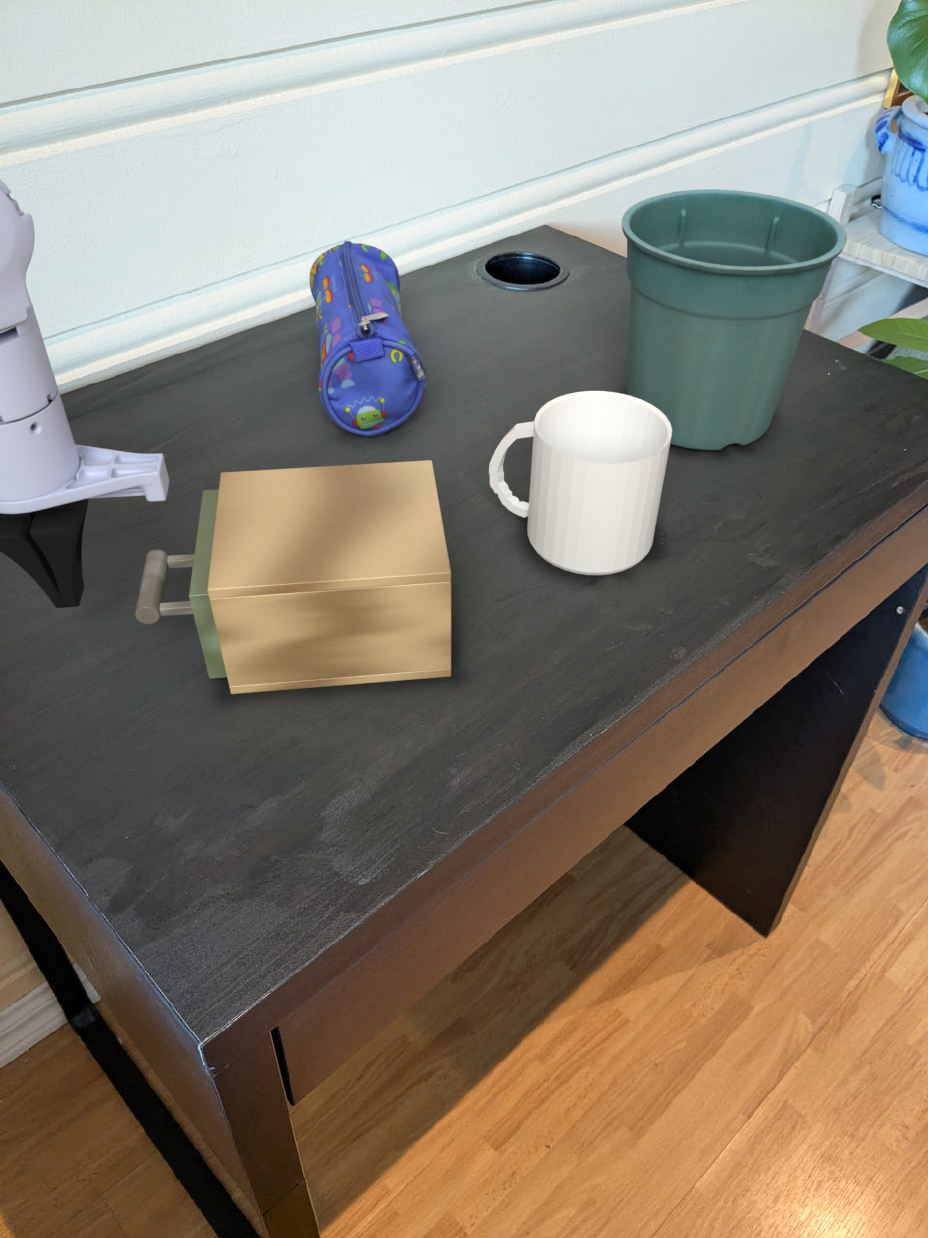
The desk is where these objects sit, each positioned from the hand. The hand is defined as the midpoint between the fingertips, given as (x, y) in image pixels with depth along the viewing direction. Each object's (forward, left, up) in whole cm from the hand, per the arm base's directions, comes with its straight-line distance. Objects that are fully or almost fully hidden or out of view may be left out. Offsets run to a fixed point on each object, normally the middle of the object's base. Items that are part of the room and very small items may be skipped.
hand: (70, 596), depth 59 cm
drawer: (+12, 0, -3) cm, 13 cm away
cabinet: (+16, 0, -4) cm, 17 cm away
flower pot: (+47, +23, -4) cm, 53 cm away
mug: (+33, +8, -4) cm, 34 cm away
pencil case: (+19, +32, -4) cm, 38 cm away
